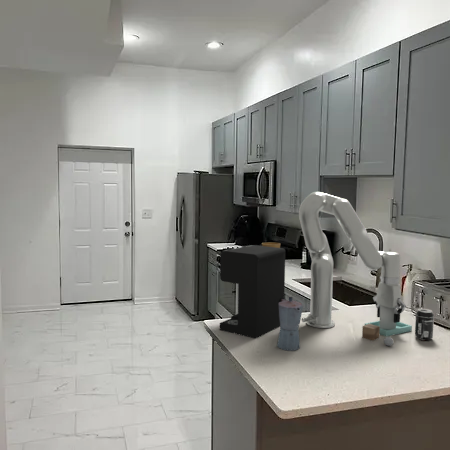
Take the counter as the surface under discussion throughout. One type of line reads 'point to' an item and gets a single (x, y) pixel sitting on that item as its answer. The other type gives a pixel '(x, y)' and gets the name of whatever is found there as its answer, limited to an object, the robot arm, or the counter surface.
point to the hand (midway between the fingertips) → (388, 319)
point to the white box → (387, 318)
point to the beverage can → (424, 324)
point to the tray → (399, 329)
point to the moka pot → (289, 324)
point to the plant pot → (271, 244)
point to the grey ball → (388, 341)
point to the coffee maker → (254, 288)
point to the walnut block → (370, 332)
